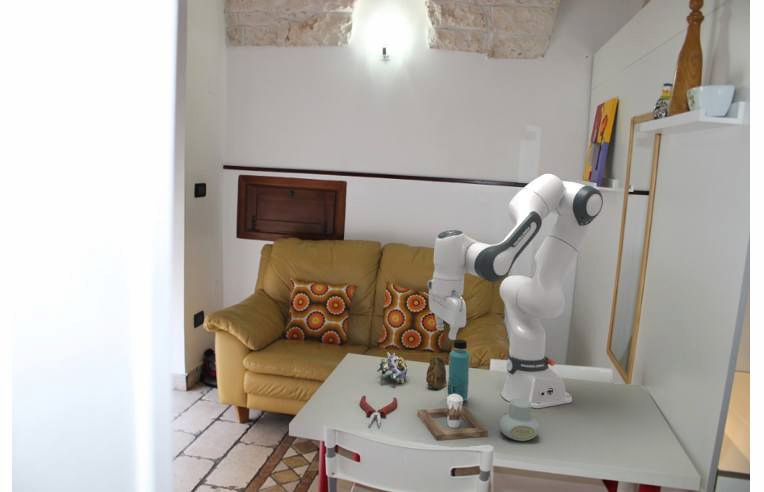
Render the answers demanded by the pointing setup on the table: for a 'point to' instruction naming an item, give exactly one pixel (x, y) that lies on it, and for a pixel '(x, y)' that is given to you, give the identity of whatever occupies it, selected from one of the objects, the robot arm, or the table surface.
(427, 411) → the wooden frame
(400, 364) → the passion flower
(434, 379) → the decorative stone
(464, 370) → the beverage bottle
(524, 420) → the air freshener
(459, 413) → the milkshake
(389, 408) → the pliers
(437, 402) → the table surface
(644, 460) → the table surface
